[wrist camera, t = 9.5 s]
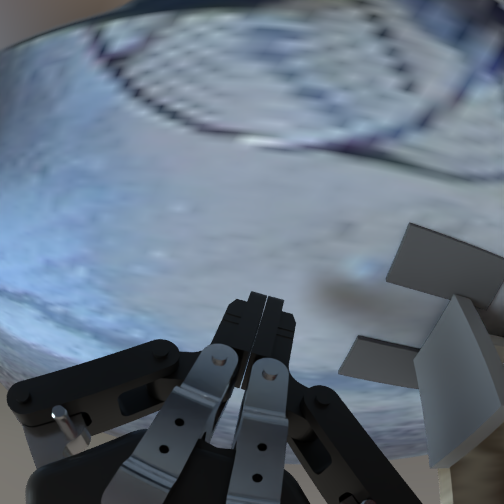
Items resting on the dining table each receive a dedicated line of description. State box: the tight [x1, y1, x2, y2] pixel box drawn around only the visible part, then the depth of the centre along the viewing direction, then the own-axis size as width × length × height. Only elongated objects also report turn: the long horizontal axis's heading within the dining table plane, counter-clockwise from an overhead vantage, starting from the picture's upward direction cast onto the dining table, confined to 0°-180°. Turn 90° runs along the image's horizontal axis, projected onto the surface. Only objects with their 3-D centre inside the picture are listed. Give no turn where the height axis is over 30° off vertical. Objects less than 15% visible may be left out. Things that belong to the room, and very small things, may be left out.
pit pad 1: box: [338, 336, 420, 389], centre depth 17 cm, size 3×7×1 cm, turn 79°
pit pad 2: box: [386, 223, 504, 310], centre depth 14 cm, size 3×7×1 cm, turn 79°
